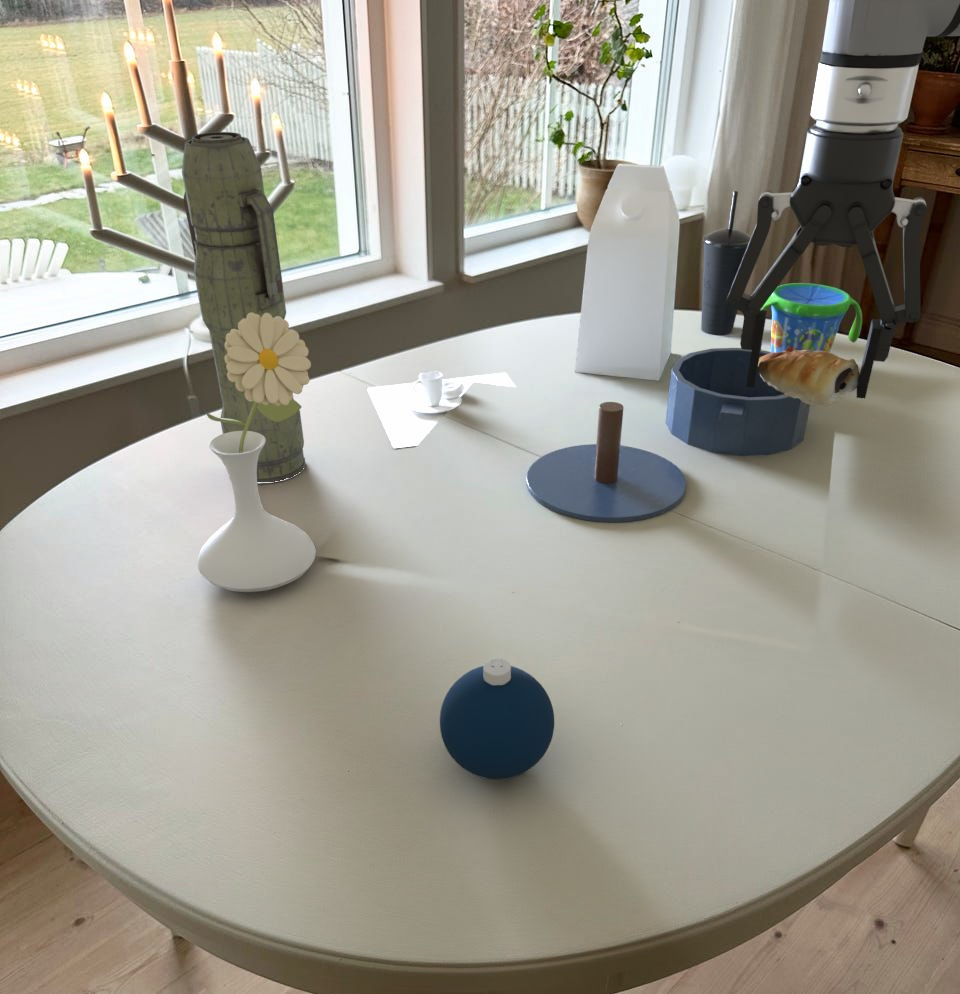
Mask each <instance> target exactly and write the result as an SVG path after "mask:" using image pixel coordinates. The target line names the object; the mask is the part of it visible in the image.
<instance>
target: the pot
mask: <svg viewBox="0 0 960 994" xmlns="http://www.w3.org/2000/svg"><path fill="white" fill-rule="evenodd" d="M751 352H752V350H745V349H741V347H719V348H718V347H715V348H707V349H703V350H697V351H692V352H689V353H688V354H685V355H683V356H681V357H679V358H677V359H676V360H675V362H674V364H673V366H672V368H671V372H670V380H669V388H668V397H667V407H666V414H665V417H666V418H665V425H666V426H667V428H668V430H669V433H670V434H671V435H672V436H673V437H674V438H677V440H680V441H681V442H683V443H685V444H686V445H688V446H691V447H693V448H697V449H700V450H703V451H707V452H710V453H712V454H713V453H714V454H721V455H729V456H735V457H756V456H757V457H759V456H770V455H774V454H778V453H782V452H786V451H790V450H792V449H793V448H795V447H796V446H797V445H799V444H801V443H802V442H803V441H804V440H805V434H806V431H807V425H808V419H809V415H810V411H811V410H810V409H811V406H812V405H810V404H806V403H804V402H802V401H801V400H800V399H798V398H795V399H794V398H792V397H790V396H787V395H785V394H784V393H783V392H780V391H778V390H776V389H775V388H774V387H773V386H769V385H768V383H767V382H764V380H763V379H762V378H761V376H760V373H759V369H757V376H756V381H755V385H754V388H752V387H746V383H747V377H748V371H749V364H750V358H751ZM769 353H772V352H771V351H768V350H763V349H761V351H760V357H762V356H764V355H767V354H769ZM760 357H759V358H760Z"/></svg>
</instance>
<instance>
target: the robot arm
mask: <svg viewBox="0 0 960 994" xmlns="http://www.w3.org/2000/svg"><path fill="white" fill-rule="evenodd" d="M827 9H828V10H827V17H826V22H825V29H824V36H823V43H822V48H821V53H820V59H819V62H818V65H817V66H818V67H817V71H816V79H815V85H814V91H813V96H812V104H811V110H810V117H811V119H813V120H814V121H816V122H815V123H814V124H812V125H811V126H810V128H808V129H807V131H806V137H805V138H806V139H805V143H804V150H803V156H802V162H801V167H800V173H799V179H798V181H797V183H796V186H795V187H794V188H793V189H792V191H790V192H773V191H772V190H769V189H766V190H764V191H762V192H761V194H760V195H759V199H758V202H757V213H756V214H757V216H756V217H757V218H756V224H755V226H754V229H753V231H752V234H751V236H752V237H751V239H750V242H749V244H748V247H747V249H746V252H745V254H744V257H743V259H742V262H741V264H740V267H739V269H738V272H737V274H736V277H735V279H734V282H733V284H732V287H731V289H730V292H729V294H728V297H727V301H726V304H727V306H728V307H729V308H731V309H734V308H735V309H737V311H738V312H740V313H741V314H742V315H743V323H742V329H741V335H740V342H739V344H740V348H741V349H745V350H752V352H751V358H750V364H749V371H748V377H747V383H746V387H752V388H754V385H755V381H756V376H757V369H758V363H759V357H760V351H761V350H762V345H763V340H764V339H763V338H764V333H765V327H766V319H767V313H768V310H766V309H764V310H761V308H762V307H763V306H764V304H765V303H766V302H767V300H768V299H769V297H770V296H771V295H772V293H773V292H774V291H775V289H776V288H777V287H778V286H780V284H781V283H782V281H783V280H784V279H785V277H786V276H787V274H788V273H789V272H790V270H791V269H792V267H793V266H794V265H795V264H796V262H797V261H798V259H799V258H800V257H801V255H803V254H804V252H805V251H806V249H807V248H808V247H809V246H810V244H811V243H813V244H814V246H818V247H819V246H821V247H822V246H823V247H824V246H830V245H837V246H839V247H841V248H853V246H857V248H858V252H859V256H860V258H861V261H862V263H863V266H864V270H865V273H866V276H867V279H868V282H869V286H870V290H871V292H872V295H873V298H874V303H875V305H876V307H877V312H878V314H879V318H880V319H879V318H871V322H870V327H869V331H868V334H867V340H866V344H865V349H864V353H863V358H862V362H861V365H860V370H859V375H860V376H859V384H858V386H857V388H856V399H866V397H867V392H868V388H869V383H870V380H871V375H872V371H873V368H874V367H873V366H874V362H882V363H885V362H886V360H887V359H888V358H889V354H890V349H891V345H892V342H893V338H894V333H895V330H896V329H897V328H898V326H899V325H902V324H906V323H911V324H912V323H916V322H918V321H919V320H920V318H921V315H922V313H921V311H922V309H921V305H922V303H921V247H920V246H921V243H920V242H921V241H920V235H921V230H922V228H923V225H924V222H925V219H926V217H927V214H928V207H927V203H926V199H924V198H923V197H922V196H918V197H915V198H913V199H909V198H903V197H896V196H895V193H894V188H893V184H894V180H895V174H896V171H897V166H898V162H899V158H900V157H899V156H900V152H901V148H902V145H903V144H902V143H903V139H904V135H905V134H904V132H903V129H902V128H901V127H899V124H901V123H904V121H905V120H907V119H908V117H909V112H910V108H911V103H912V98H913V94H914V89H915V84H916V80H917V75H918V71H919V65H920V63H921V59H922V56H923V53H922V52H923V49H924V46H925V42H926V39H927V38H928V37H930V38H931V37H932V38H945V37H960V0H829V3H828V8H827ZM787 208H790V209H791V210H792V213H793V214H794V216H795V218H796V221H797V223H798V224H799V227H798V228H797V230H796V231H795V233H794V234H793V236H792V237H791V239H790V241H789V242H788V244H787V245H786V247H785V248H784V249H783V251H781V254H779V256H778V257H777V259H776V260H775V262H774V263H773V265H772V266H771V267H770V268H769V270H768V272H767V273H766V274H765V275H764V277H763V279H762V280H761V282H759V284H758V285H757V287H756V288H755V289H754V291H753V292H752V294H748V293H745V291H746V288H747V286H748V283H749V281H750V279H751V277H752V273H753V271H754V269H755V266H756V265H757V262H758V259H759V257H760V255H761V252H762V249H763V247H764V245H765V243H766V240H767V237H768V235H769V232H770V229H771V226H772V223H773V222H775V221H778V220H779V219H781V217H782V214H783V212H784V210H785V209H787ZM891 213H893V214H895V215H896V224H897V226H898V227H900V228H901V229H902V248H903V249H902V250H903V251H902V252H903V253H902V254H903V255H902V256H903V258H902V259H903V293H904V294H903V295H904V296H903V298H904V299H903V300H904V304H899V305H896V306H895V303H894V300H893V297H892V293H891V290H890V286H889V283H888V279H887V276H886V273H885V271H884V267H883V263H882V260H881V257H880V254H879V251H878V247H877V243H876V240H875V236H874V233H873V232H874V230H875V229H877V227H878V226H879V225H880V224H881V223H882V222H883V221H884V220H885V219H886V218H887V217H888V216H889V215H890V214H891Z"/></svg>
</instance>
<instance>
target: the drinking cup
mask: <svg viewBox="0 0 960 994" xmlns="http://www.w3.org/2000/svg"><path fill="white" fill-rule="evenodd" d="M738 194H739V191H738V190H734V191H733V192H732V199H731V206H730V213H729V220H728V221H729V222H728V226H727V227H728V228H727V227H726V228H719V229H716V230H714V231H711V232H709V233H706V234H705V235H703V237H702V242H703V267H702V268H703V270H702V297H701V298H702V299H701V323H700V330H701V331H702V332H703V333H706V334H710V335H716V336H720V335H723V336H724V335H728V334H732V332H733V331H734V326H735V322H736V318H737V313H738V310H737V309H735V308H734V309H731V308H729V307H728V306H727V304H726V301H727V297H728V294H729V292H730V289H731V287H732V284H733V282H734V279H735V277H736V274H737V272H738V269H739V267H740V264H741V262H742V259H743V257H744V254H745V252H746V249H747V247H748V244H749V242H750V239H751V237H752V234H749V233H748V232H746V231H744V230H741V229H738V228H734V224H735V216H736V209H737V204H738V196H739V195H738Z"/></svg>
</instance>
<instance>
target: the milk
mask: <svg viewBox="0 0 960 994" xmlns="http://www.w3.org/2000/svg"><path fill="white" fill-rule="evenodd" d="M669 182H670V181H669V179H668V176H667V171H666V169H665V166H664V165H653V164H632V163H618V164H617V165H616V167H615V169H614V171H613V173H612V175H611V178H610V180H609V182H608V184H607V189H606V190H605V191H604V194H603V197H602V199H601V202H600V204H599V207H598V209H597V211H596V214H595V217H594V219H593V221H592V224H591V228H590V230H589V234H588V240H587V250H586V259H585V267H584V268H585V269H584V279H583V287H582V290H583V291H582V296H581V307H580V314H579V315H580V317H579V318H580V319H579V327H578V336H577V345H576V346H577V347H576V355H575V365H574V373H582V374H590V375H591V374H592V375H600V376H610V377H611V376H612V377H621V378H629V379H638V380H648V381H658V382H659V381H660V379H661V376H662V375H663V372H664V371H665V368H666V365H667V363H668V361H669V358H670V356H671V354H672V344H673V331H674V314H675V299H676V286H677V272H678V257H679V256H678V255H679V242H680V227H681V226H680V225H681V223H680V214H679V211H678V207H677V205H676V201H675V198H674V195H673V192H672V190H671V185H670V183H669Z"/></svg>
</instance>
